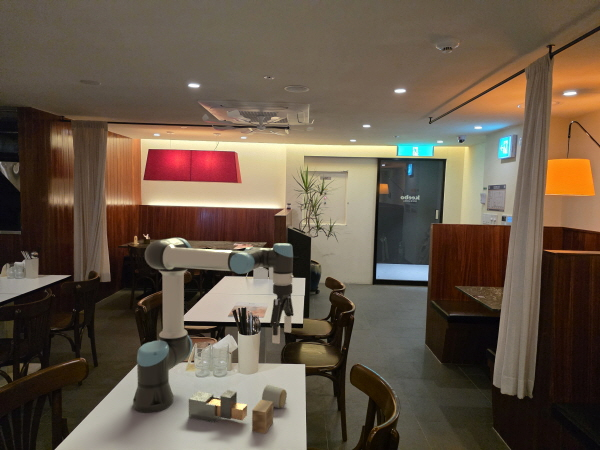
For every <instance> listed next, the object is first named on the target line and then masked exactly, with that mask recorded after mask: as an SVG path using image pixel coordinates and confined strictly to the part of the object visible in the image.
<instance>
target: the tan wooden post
mask: <svg viewBox="0 0 600 450" xmlns="http://www.w3.org/2000/svg"><path fill="white" fill-rule="evenodd" d="M237 396H238V392H237V391H236V390H229V389H227V390H225V391H224V392H223V393H222V394H221V395H220V396H219V397H220V400H217V399H210V400H209V401H208V402H206V403H209V404H215V405H216V416H220V418H222V419H227V420H237V421H243V420H244V419H246V417H247V416H248V404H245V403H239V402H237V400H238V399H237ZM220 418H219V419H220Z"/></svg>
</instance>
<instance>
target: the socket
mask: <svg viewBox="0 0 600 450" xmlns="http://www.w3.org/2000/svg"><path fill="white" fill-rule="evenodd" d="M251 411H252V414H251V415H252V416H251V417H252V418H251V419H252V420H251V426H252V427H251V432H255V433H259V434H266V433H267V431H268V430H269V428H270V426H272V424H273V423H274V407H273V402H272V401H266V400H262V399H260V400H259V402H258V403H257V404H256V405H255V406H254V407H253V408H252V410H251Z"/></svg>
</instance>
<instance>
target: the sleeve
mask: <svg viewBox="0 0 600 450" xmlns="http://www.w3.org/2000/svg"><path fill="white" fill-rule="evenodd" d="M210 399H217V400H220V396H215V395H214V393H210V392H209V393H208V392H203V391H196V392H195V393H194V394H193V395H191V396H190V397H189V398H188V418H190V419H194V420H198V421H203V422H204V421H205V422H209V423H216V422H217V421H218V419H220V416H216V405H215V404H209V403H206V402H208V401H209V400H210Z"/></svg>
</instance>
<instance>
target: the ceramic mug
mask: <svg viewBox="0 0 600 450" xmlns="http://www.w3.org/2000/svg"><path fill="white" fill-rule="evenodd" d="M287 394H288V393H287V391H286V389H284V388H281V387H278V386H275V385H271V384H266V385H265V387H264V388H263V391H262V395H261V400H266V401H272V402H273V408H277V409H278V408H279V409H280V408H281V409H282V408H283V407H284V406H285V404H286V401H287V397H288V396H287Z"/></svg>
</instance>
